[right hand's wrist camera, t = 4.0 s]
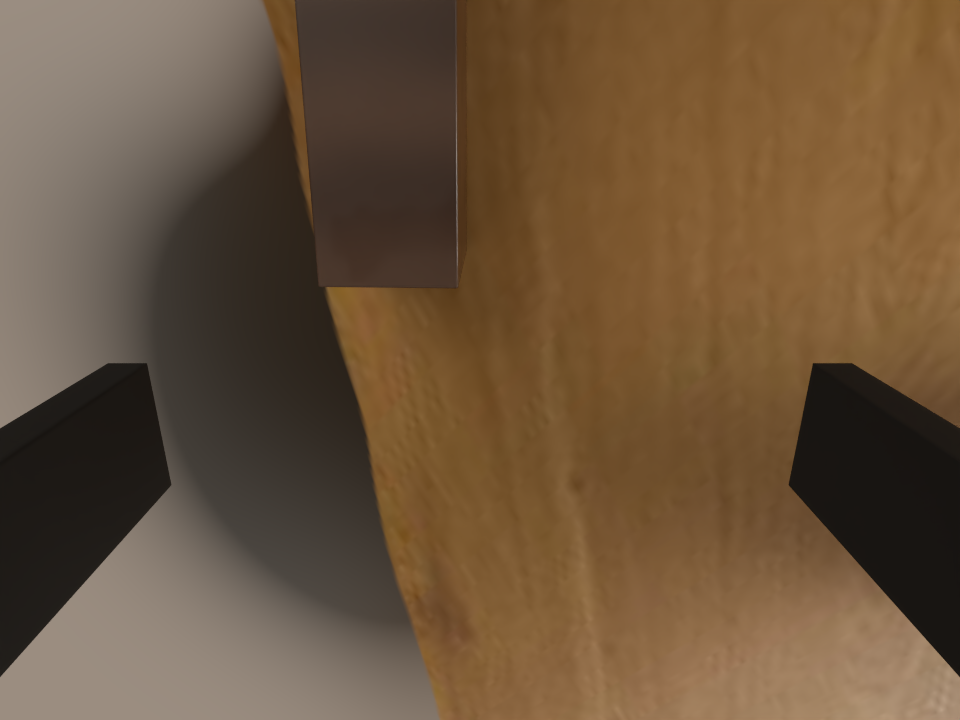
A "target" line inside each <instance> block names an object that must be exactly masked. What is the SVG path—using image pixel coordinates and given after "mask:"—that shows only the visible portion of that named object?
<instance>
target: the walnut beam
mask: <svg viewBox="0 0 960 720" xmlns="http://www.w3.org/2000/svg"><path fill="white" fill-rule="evenodd" d="M295 7H296V19H297V31H298V43H299V55H300V68H301V80H302V92H303V104H304V116H305V128H306V140H307V153H308V165H309V177H310V189H311V201H312V213H313V225H314V238H315V250H316V261H317V274H318V285H319V286H320V287H386V288H458V285H459V281H460V277H461V272H462V268H463V263H464V259H465V255H466V0H295Z"/></svg>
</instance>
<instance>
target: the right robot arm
mask: <svg viewBox="0 0 960 720" xmlns="http://www.w3.org/2000/svg"><path fill="white" fill-rule="evenodd" d="M170 486H171V481H170V476H169V471H168V466H167V461H166V456H165V451H164V446H163V441H162V436H161V431H160V426H159V421H158V416H157V411H156V406H155V401H154V396H153V391H152V386H151V381H150V376H149V371H148V366H147V364H146V363H108V364H106V365H105V366H103V367H101V368H100V369H98V370H96V371H95V372H93V373H91V374H90V375H88V376H86V377H85V378H83V379H81V380H80V381H78V382H76V383H75V384H73V385H71V386H70V387H68V388H66V389H65V390H63V391H62V392H60V393H58V394H57V395H55V396H53V397H52V398H50V399H48V400H47V401H45V402H43V403H42V404H40V405H38V406H37V407H35V408H33V409H32V410H30V411H28V412H27V413H25V414H23V415H22V416H20V417H18V418H17V419H15V420H13V421H12V422H10V423H8V424H7V425H5V426H4V427H2V428H0V677H1V675H2V674H3V673H4V672H5V671H6V670H7V669H8V668H9V666H10V665H11V664H12V663H13V662H14V661H15V660H16V659H17V657H18V656H19V655H20V654H21V653H22V652H23V651H24V650H25V649H26V647H27V646H28V645H29V644H30V643H31V642H32V641H33V640H34V638H35V637H36V636H37V635H38V634H39V633H40V632H41V631H42V629H43V628H44V627H45V626H46V625H47V624H48V623H49V622H50V620H51V619H52V618H53V617H54V616H55V615H56V614H57V613H58V611H59V610H60V609H61V608H62V607H63V606H64V605H65V604H66V603H67V601H68V600H69V599H70V598H71V597H72V596H73V595H74V594H75V592H76V591H77V590H78V589H79V588H80V587H81V586H82V585H83V583H84V582H85V581H86V580H87V579H88V578H89V577H90V576H91V574H92V573H93V572H94V571H95V570H96V569H97V568H98V567H99V566H100V564H101V563H102V562H103V561H104V560H105V559H106V558H107V557H108V555H109V554H110V553H111V552H112V551H113V550H114V549H115V548H116V546H117V545H118V544H119V543H120V542H121V541H122V540H123V539H124V537H125V536H126V535H127V534H128V533H129V532H130V531H131V530H132V528H133V527H134V526H135V525H136V524H137V523H138V522H139V521H140V520H141V518H142V517H143V516H144V515H145V514H146V513H147V512H148V511H149V509H150V508H151V507H152V506H153V505H154V504H155V503H156V502H157V500H158V499H159V498H160V497H161V496H162V495H163V494H164V493H165V492H166V490H167V489H168V488H169V487H170ZM789 486H790V487H791V488H792V489H793V490H794V492H795V493H796V494H797V495H798V496H799V497H800V498H801V499H802V500H803V502H804V503H805V504H806V505H807V506H808V507H809V508H810V509H811V511H812V512H813V513H814V514H815V515H816V516H817V517H818V518H819V520H820V521H821V522H822V523H823V524H824V525H825V526H826V527H827V529H828V530H829V531H830V532H831V533H832V534H833V535H834V536H835V537H836V539H837V540H838V541H839V542H840V543H841V544H842V545H843V546H844V548H845V549H846V550H847V551H848V552H849V553H850V554H851V555H852V557H853V558H854V559H855V560H856V561H857V562H858V563H859V564H860V566H861V567H862V568H863V569H864V570H865V571H866V572H867V573H868V574H869V576H870V577H871V578H872V579H873V580H874V581H875V582H876V583H877V585H878V586H879V587H880V588H881V589H882V590H883V591H884V592H885V594H886V595H887V596H888V597H889V598H890V599H891V600H892V601H893V603H894V604H895V605H896V606H897V607H898V608H899V609H900V610H901V612H902V613H903V614H904V615H905V616H906V617H907V618H908V619H909V620H910V622H911V623H912V624H913V625H914V626H915V627H916V628H917V629H918V631H919V632H920V633H921V634H922V635H923V636H924V637H925V638H926V640H927V641H928V642H929V643H930V644H931V645H932V646H933V647H934V649H935V650H936V651H937V652H938V653H939V654H940V655H941V656H942V657H943V659H944V660H945V661H946V662H947V663H948V664H949V665H950V666H951V668H952V669H953V670H954V671H955V672H956V673H957V674H958V675H959V677H960V428H958V427H956V426H955V425H953V424H952V423H950V422H948V421H947V420H945V419H943V418H942V417H940V416H938V415H937V414H935V413H933V412H932V411H930V410H928V409H927V408H925V407H923V406H922V405H920V404H918V403H917V402H915V401H913V400H912V399H910V398H908V397H907V396H905V395H903V394H902V393H900V392H898V391H897V390H895V389H894V388H892V387H890V386H889V385H887V384H885V383H884V382H882V381H880V380H879V379H877V378H875V377H874V376H872V375H870V374H869V373H867V372H865V371H864V370H862V369H860V368H859V367H857V366H855V365H854V364H852V363H813V366H812V371H811V376H810V381H809V386H808V391H807V396H806V401H805V406H804V411H803V416H802V421H801V426H800V431H799V436H798V441H797V446H796V451H795V456H794V461H793V466H792V471H791V476H790V481H789Z"/></svg>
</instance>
